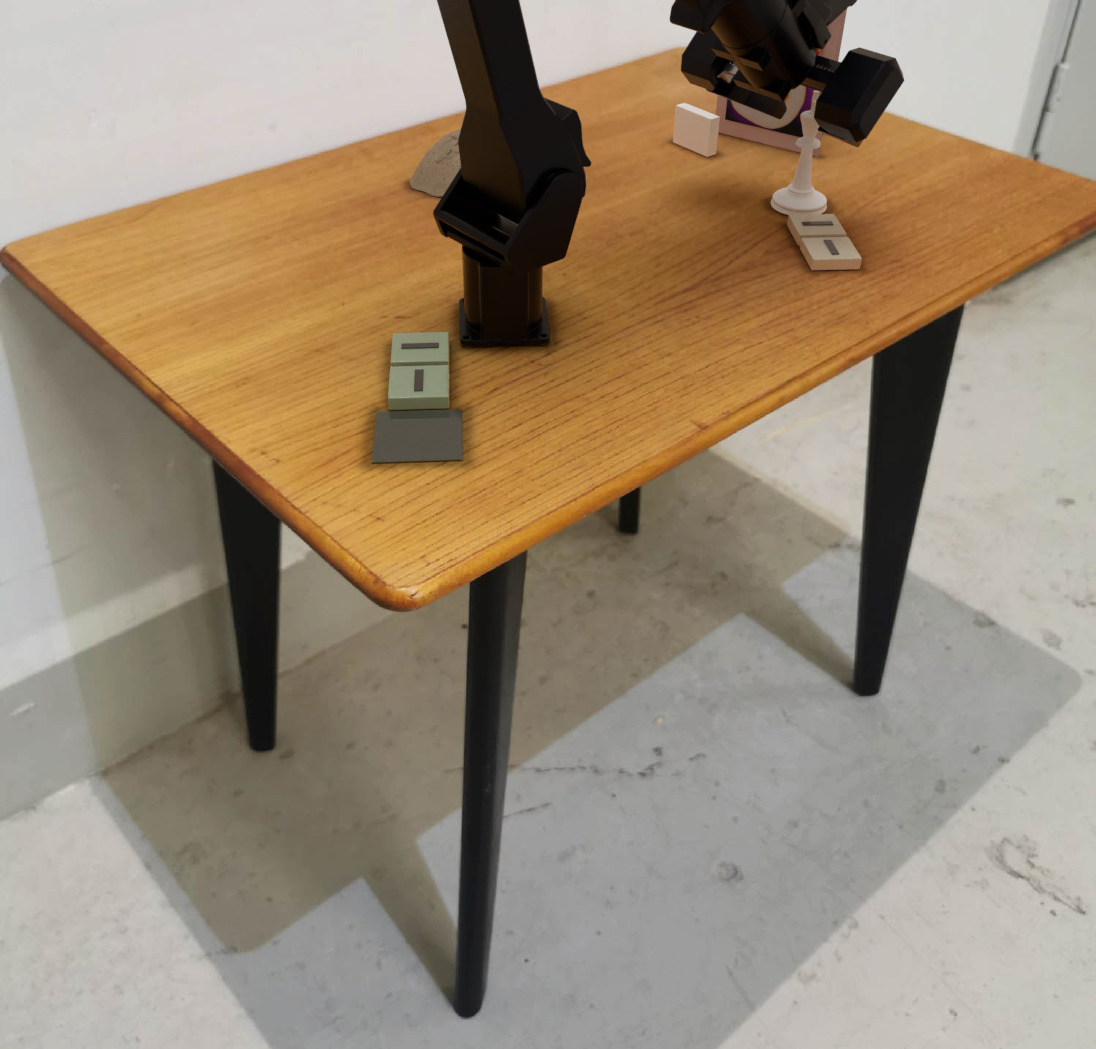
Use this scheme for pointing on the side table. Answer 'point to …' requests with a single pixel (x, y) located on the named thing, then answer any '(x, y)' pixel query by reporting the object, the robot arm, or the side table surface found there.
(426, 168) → the clay tablet
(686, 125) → the eraser
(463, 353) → the side table surface
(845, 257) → the beige domino tile
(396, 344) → the green and grey panel
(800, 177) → the chess piece
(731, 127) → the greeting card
